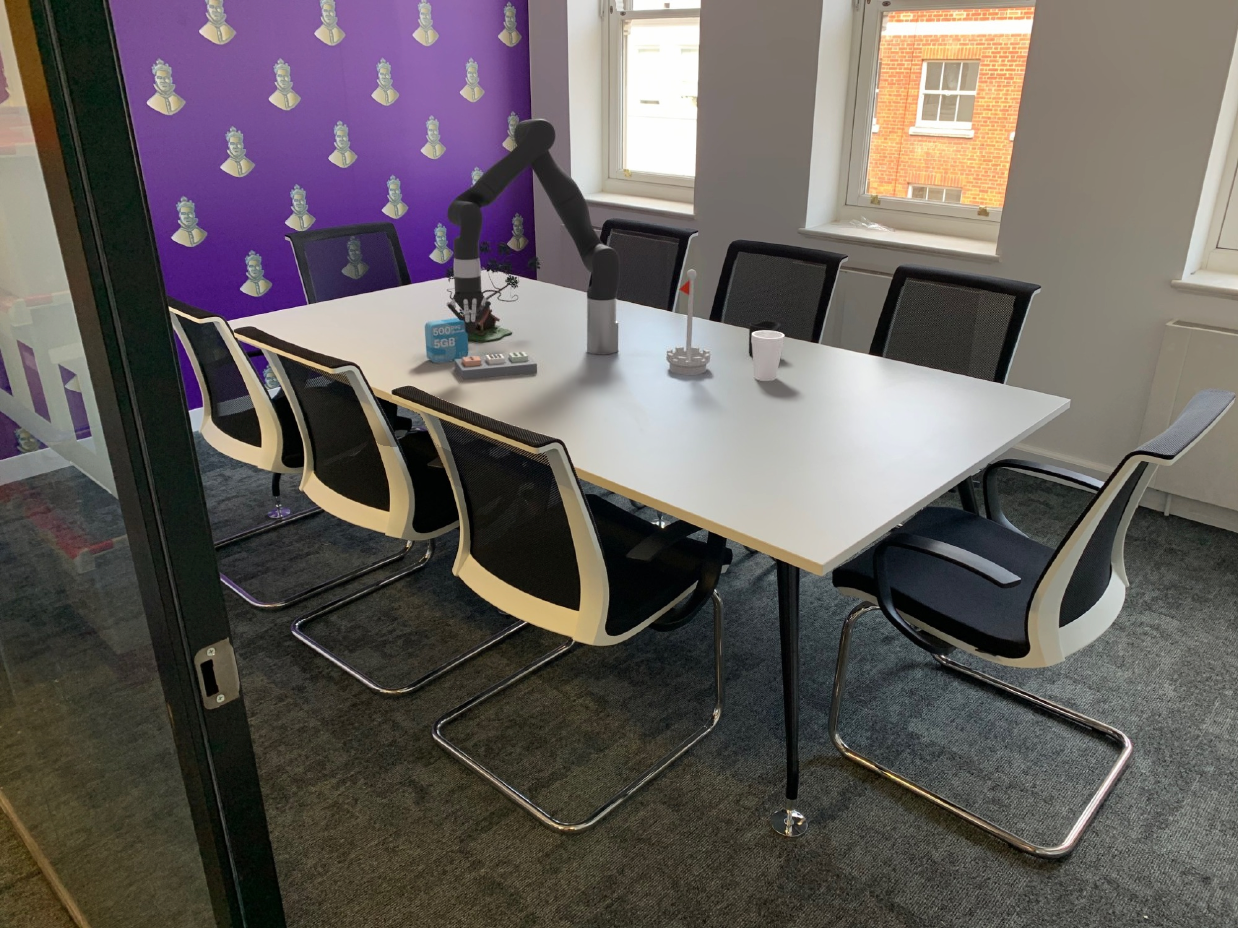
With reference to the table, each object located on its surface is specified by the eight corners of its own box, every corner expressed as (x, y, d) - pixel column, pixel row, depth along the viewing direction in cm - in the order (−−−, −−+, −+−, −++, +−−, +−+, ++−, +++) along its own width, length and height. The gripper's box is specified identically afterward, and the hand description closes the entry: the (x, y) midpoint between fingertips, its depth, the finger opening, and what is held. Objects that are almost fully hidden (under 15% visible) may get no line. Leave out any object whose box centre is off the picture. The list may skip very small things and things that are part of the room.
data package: (432, 364, 286) (429, 325, 282) (426, 360, 290) (424, 322, 285) (468, 358, 292) (466, 320, 288) (462, 354, 296) (460, 317, 291)
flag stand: (686, 360, 292) (689, 263, 281) (718, 369, 284) (723, 269, 272) (657, 369, 284) (659, 269, 273) (689, 378, 275) (693, 275, 264)
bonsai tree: (484, 353, 298) (479, 251, 286) (432, 339, 312) (426, 242, 300) (559, 332, 323) (558, 238, 311) (508, 320, 337) (505, 230, 325)
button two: (524, 361, 284) (523, 351, 283) (528, 365, 280) (527, 355, 279) (509, 362, 283) (508, 352, 282) (513, 367, 279) (512, 356, 278)
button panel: (526, 362, 289) (526, 353, 288) (537, 373, 278) (536, 363, 277) (454, 369, 282) (454, 359, 280) (463, 380, 271) (462, 370, 270)
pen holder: (776, 360, 294) (779, 328, 290) (746, 358, 296) (748, 326, 292) (778, 352, 303) (780, 321, 299) (748, 350, 304) (750, 319, 301)
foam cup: (760, 384, 271) (764, 340, 266) (742, 375, 279) (745, 332, 274) (787, 380, 275) (791, 336, 270) (768, 371, 283) (772, 329, 278)
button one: (478, 365, 280) (477, 355, 279) (481, 370, 276) (481, 359, 275) (462, 367, 278) (462, 356, 277) (466, 371, 274) (465, 360, 273)
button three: (501, 363, 282) (500, 353, 281) (505, 367, 278) (504, 357, 277) (486, 365, 281) (485, 354, 279) (489, 369, 277) (489, 358, 275)
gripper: (487, 270, 272) (489, 329, 279) (441, 272, 268) (444, 332, 274) (493, 275, 266) (495, 335, 272) (446, 277, 261) (449, 339, 268)
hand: (470, 334), depth 273 cm, fingers closed
